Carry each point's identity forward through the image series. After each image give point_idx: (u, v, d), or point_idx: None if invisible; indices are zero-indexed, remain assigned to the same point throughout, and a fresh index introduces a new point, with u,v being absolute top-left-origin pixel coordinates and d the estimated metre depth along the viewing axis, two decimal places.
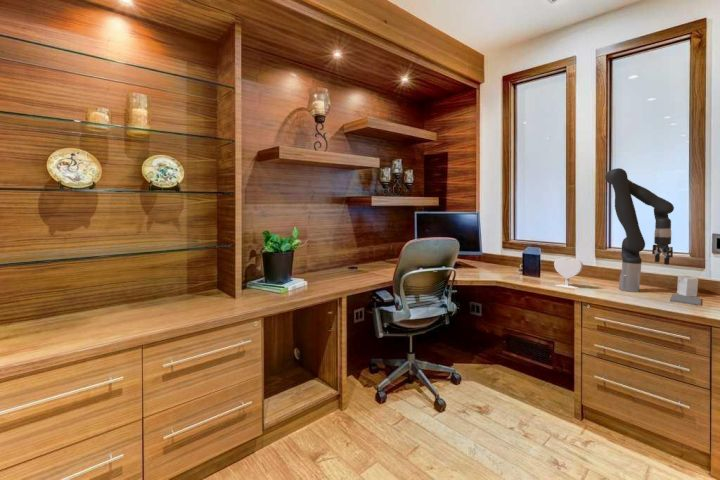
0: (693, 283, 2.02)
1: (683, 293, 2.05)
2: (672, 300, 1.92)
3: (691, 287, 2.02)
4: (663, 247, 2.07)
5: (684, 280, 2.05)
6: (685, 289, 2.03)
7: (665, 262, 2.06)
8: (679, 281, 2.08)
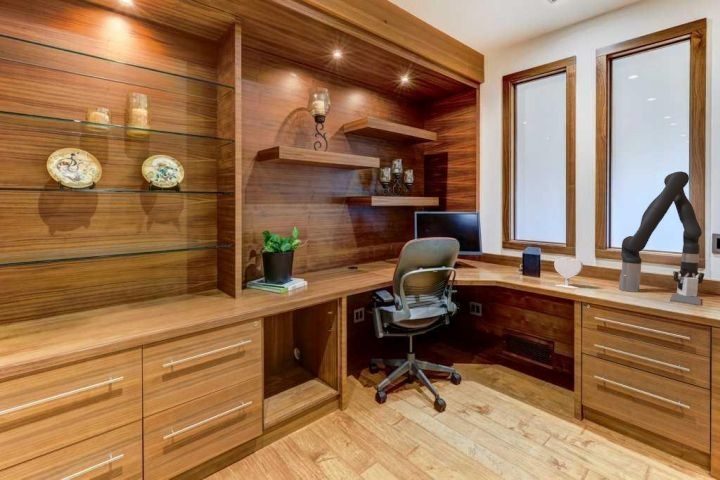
0: (693, 283, 2.02)
1: (683, 293, 2.05)
2: (672, 300, 1.92)
3: (691, 287, 2.02)
4: (695, 272, 2.03)
5: (684, 280, 2.05)
6: (685, 289, 2.03)
7: None
8: None
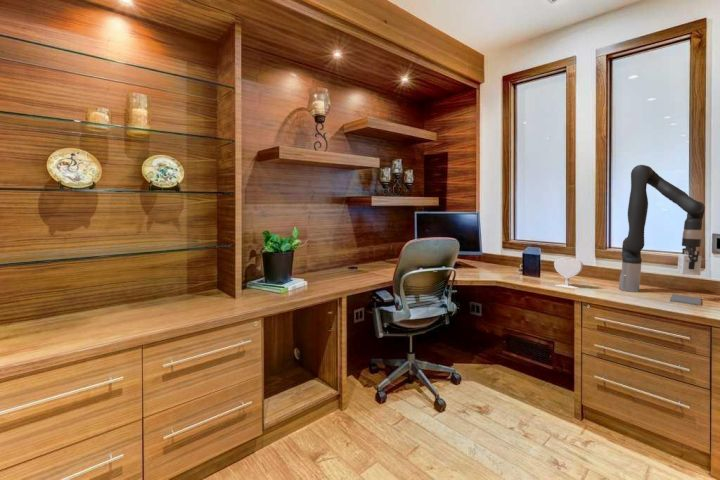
0: None
1: (695, 272, 1.92)
2: (672, 300, 1.92)
3: None
4: None
5: None
6: (699, 267, 1.91)
7: None
8: (687, 260, 1.92)
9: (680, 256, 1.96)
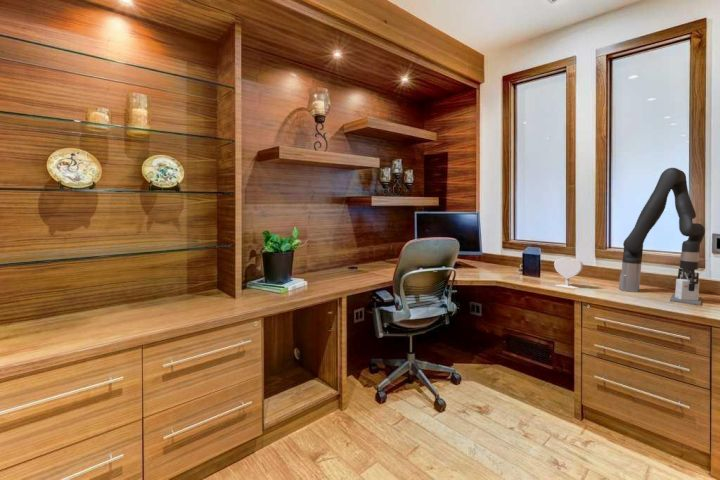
0: None
1: (693, 298, 1.91)
2: (672, 300, 1.92)
3: None
4: None
5: None
6: (697, 293, 1.90)
7: None
8: (686, 286, 1.91)
9: (678, 281, 1.95)
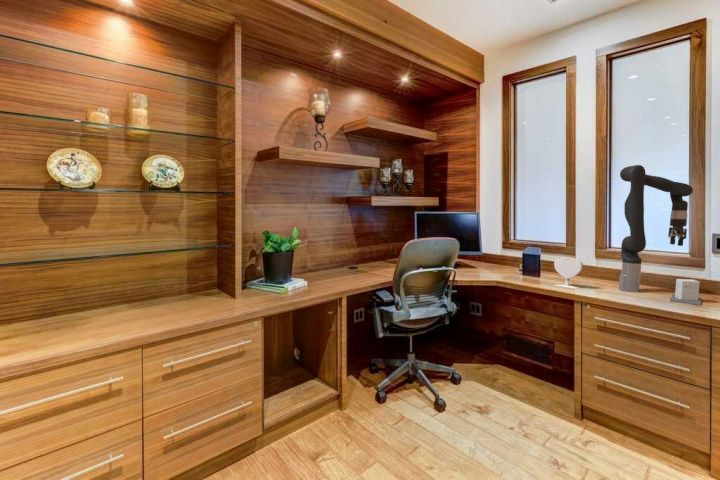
0: None
1: (693, 298, 1.91)
2: (672, 300, 1.92)
3: None
4: None
5: (694, 284, 1.90)
6: (697, 293, 1.90)
7: None
8: (686, 286, 1.91)
9: (678, 281, 1.95)
